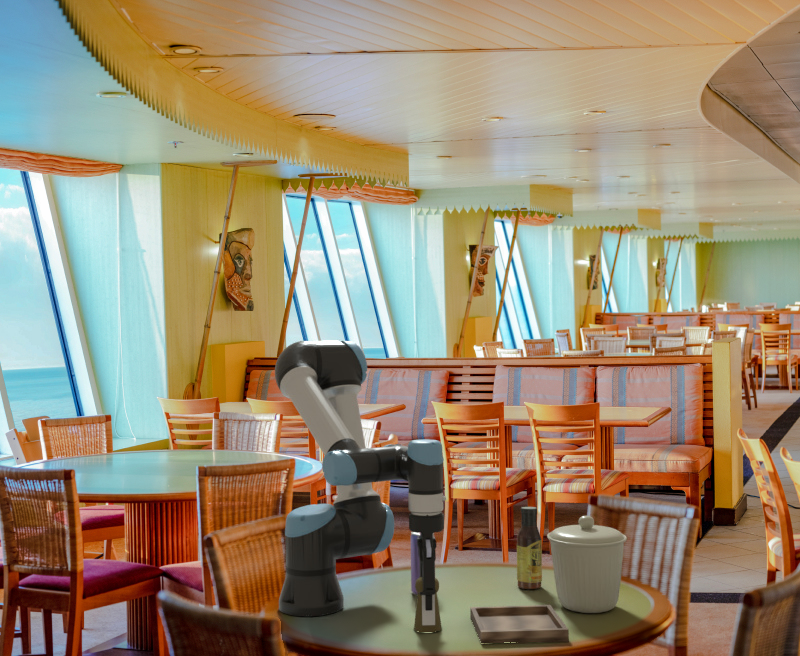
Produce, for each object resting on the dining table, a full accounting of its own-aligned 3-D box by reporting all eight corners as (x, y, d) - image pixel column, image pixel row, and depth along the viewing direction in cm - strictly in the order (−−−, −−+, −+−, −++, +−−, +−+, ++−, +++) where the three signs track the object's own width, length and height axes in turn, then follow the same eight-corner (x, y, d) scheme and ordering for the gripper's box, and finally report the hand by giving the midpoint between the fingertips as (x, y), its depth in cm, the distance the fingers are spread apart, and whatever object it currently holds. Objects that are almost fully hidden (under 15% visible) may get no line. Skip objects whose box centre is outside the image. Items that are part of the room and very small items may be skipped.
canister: (642, 615, 205) (640, 520, 205) (566, 621, 201) (564, 525, 202) (607, 594, 223) (606, 507, 223) (537, 599, 219) (535, 511, 219)
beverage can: (410, 596, 224) (409, 534, 224) (412, 589, 230) (411, 529, 230) (434, 596, 223) (433, 534, 223) (436, 590, 229) (435, 529, 229)
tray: (481, 644, 187) (480, 632, 187) (470, 618, 205) (470, 607, 205) (568, 641, 187) (568, 629, 187) (550, 616, 205) (550, 604, 205)
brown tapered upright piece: (439, 633, 194) (438, 581, 194) (411, 632, 195) (410, 580, 195) (443, 625, 200) (443, 574, 200) (416, 623, 201) (415, 573, 201)
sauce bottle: (536, 591, 226) (534, 510, 226) (512, 588, 229) (511, 508, 230) (546, 585, 231) (545, 506, 232) (523, 582, 235) (522, 504, 235)
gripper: (447, 519, 189) (449, 633, 189) (439, 504, 207) (441, 608, 206) (411, 520, 189) (412, 634, 188) (406, 505, 207) (408, 609, 206)
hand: (427, 620), depth 197 cm, fingers closed on brown tapered upright piece, 5 cm apart
